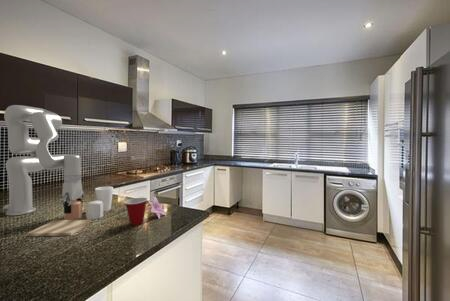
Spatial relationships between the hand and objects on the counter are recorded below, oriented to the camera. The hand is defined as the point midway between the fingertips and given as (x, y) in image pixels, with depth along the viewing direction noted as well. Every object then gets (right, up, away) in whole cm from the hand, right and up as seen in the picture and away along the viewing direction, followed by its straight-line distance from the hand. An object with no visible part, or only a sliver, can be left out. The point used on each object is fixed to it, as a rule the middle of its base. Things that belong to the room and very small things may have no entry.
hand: (73, 210), depth 115 cm
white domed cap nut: (+10, -4, +1) cm, 11 cm away
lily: (+43, -5, +3) cm, 43 cm away
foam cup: (+9, -4, +14) cm, 17 cm away
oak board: (+5, -5, -14) cm, 16 cm away
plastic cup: (+36, -5, -7) cm, 37 cm away
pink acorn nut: (-1, -4, 0) cm, 4 cm away
